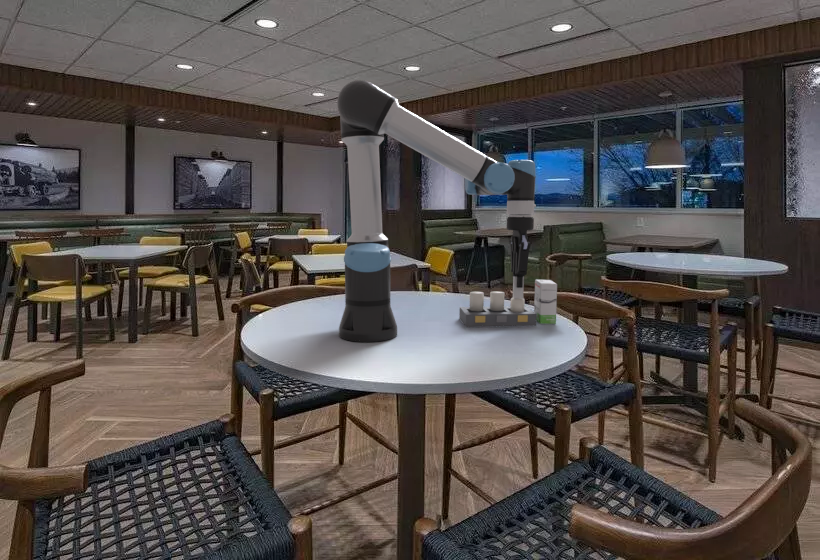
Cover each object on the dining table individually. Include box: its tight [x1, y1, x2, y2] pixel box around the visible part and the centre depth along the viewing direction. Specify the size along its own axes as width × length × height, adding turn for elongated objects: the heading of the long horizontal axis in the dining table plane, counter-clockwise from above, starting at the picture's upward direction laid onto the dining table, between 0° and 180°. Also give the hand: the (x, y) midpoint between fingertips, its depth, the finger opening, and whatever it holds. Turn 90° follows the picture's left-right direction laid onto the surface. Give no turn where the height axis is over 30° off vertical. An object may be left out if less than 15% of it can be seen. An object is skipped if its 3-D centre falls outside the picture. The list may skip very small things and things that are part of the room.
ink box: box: [533, 279, 558, 325], centre depth 152 cm, size 9×5×12 cm, turn 178°
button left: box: [469, 291, 485, 311], centre depth 149 cm, size 4×4×5 cm
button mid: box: [489, 291, 505, 311], centre depth 150 cm, size 4×4×5 cm
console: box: [458, 305, 537, 328], centre depth 150 cm, size 20×11×4 cm, turn 94°
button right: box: [510, 297, 526, 312], centre depth 150 cm, size 4×4×5 cm
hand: (517, 298), depth 150 cm, fingers closed
